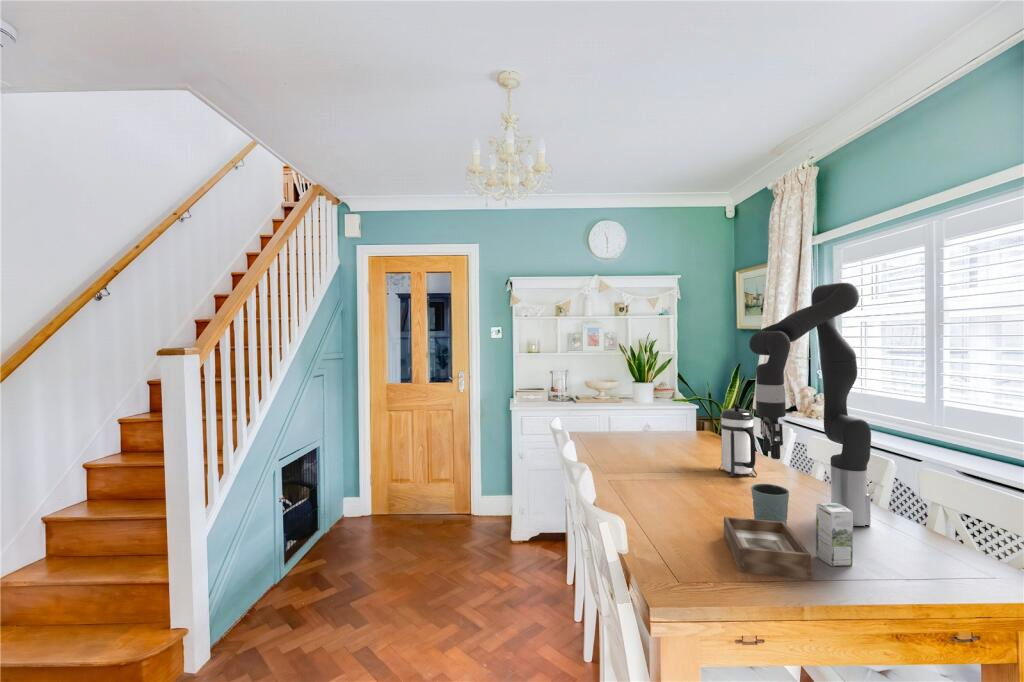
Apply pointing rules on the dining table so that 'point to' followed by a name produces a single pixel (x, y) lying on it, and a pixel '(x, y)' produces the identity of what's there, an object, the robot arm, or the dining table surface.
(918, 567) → the dining table surface
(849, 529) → the syrup box
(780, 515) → the blue-grey cup
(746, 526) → the brown wooden shallow tray
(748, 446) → the coffee press
